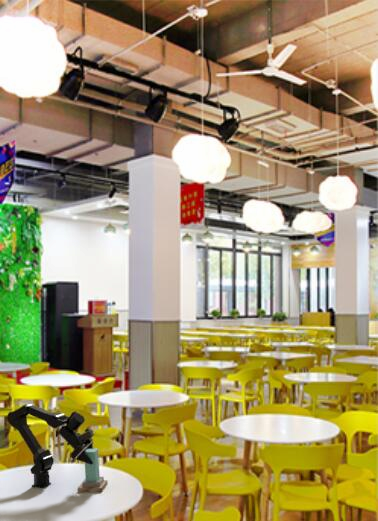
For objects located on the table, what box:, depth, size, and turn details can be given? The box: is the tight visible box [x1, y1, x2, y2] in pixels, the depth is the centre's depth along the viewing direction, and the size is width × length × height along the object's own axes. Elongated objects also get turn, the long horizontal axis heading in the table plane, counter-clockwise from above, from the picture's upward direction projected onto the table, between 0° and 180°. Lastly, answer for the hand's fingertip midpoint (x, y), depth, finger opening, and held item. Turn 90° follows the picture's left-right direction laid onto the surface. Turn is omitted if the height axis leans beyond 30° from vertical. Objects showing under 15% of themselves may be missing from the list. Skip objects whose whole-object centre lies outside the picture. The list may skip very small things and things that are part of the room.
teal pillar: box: [84, 448, 101, 481], centre depth 264 cm, size 5×5×13 cm
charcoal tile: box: [81, 476, 105, 487], centre depth 263 cm, size 8×8×2 cm
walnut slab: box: [77, 479, 109, 493], centre depth 263 cm, size 11×11×2 cm
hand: (95, 461), depth 264 cm, fingers open, 9 cm apart
